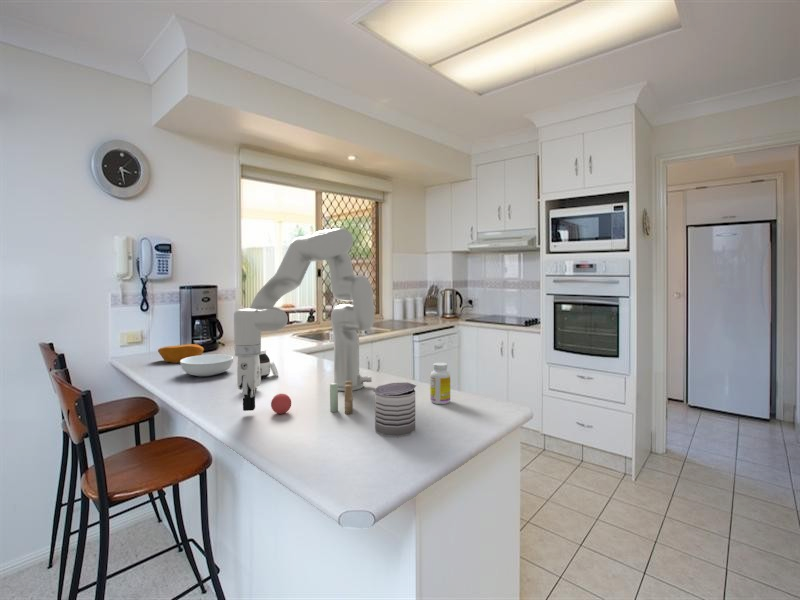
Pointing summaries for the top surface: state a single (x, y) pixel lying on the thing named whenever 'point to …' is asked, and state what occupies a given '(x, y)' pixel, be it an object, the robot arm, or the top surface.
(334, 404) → the front pin
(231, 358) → the serving bowl
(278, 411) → the ball
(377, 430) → the can
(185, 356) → the bread
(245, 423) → the top surface
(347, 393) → the pin
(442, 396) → the supplement bottle
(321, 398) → the top surface
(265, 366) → the spread jar
